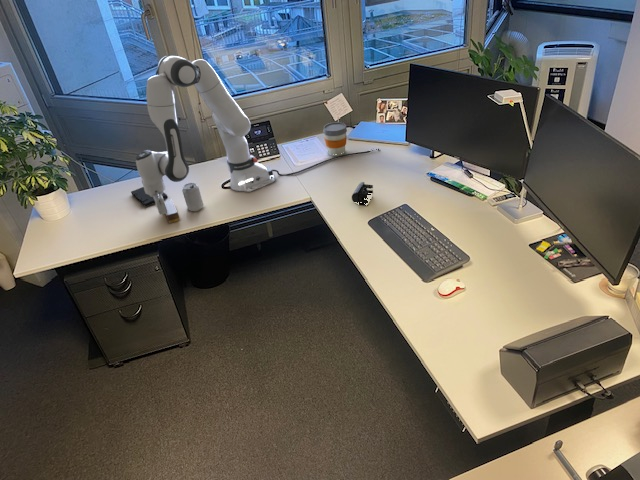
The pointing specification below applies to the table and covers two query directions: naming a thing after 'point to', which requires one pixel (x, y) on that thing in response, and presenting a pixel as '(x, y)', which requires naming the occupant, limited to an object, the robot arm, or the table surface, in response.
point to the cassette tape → (145, 197)
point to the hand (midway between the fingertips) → (163, 213)
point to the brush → (171, 211)
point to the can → (192, 196)
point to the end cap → (362, 193)
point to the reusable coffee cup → (335, 138)
